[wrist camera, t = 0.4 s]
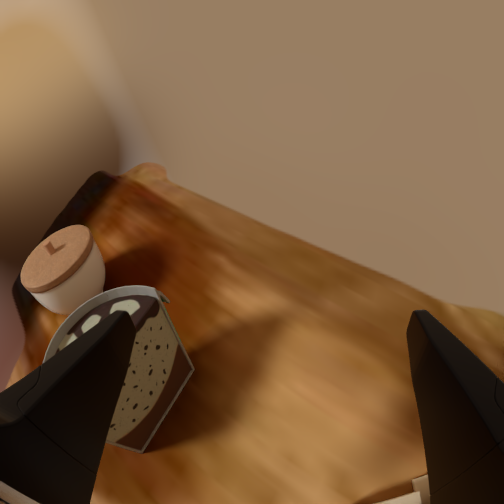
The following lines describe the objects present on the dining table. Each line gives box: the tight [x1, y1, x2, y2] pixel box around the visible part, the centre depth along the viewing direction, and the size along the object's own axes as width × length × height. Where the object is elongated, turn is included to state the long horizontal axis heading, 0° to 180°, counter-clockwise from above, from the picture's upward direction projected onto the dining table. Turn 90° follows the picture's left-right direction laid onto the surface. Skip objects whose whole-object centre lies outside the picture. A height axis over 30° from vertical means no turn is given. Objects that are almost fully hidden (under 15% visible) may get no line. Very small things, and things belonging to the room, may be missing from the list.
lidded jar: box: [21, 225, 105, 315], centre depth 33 cm, size 11×11×9 cm
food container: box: [43, 285, 195, 454], centre depth 21 cm, size 12×6×10 cm, turn 154°
